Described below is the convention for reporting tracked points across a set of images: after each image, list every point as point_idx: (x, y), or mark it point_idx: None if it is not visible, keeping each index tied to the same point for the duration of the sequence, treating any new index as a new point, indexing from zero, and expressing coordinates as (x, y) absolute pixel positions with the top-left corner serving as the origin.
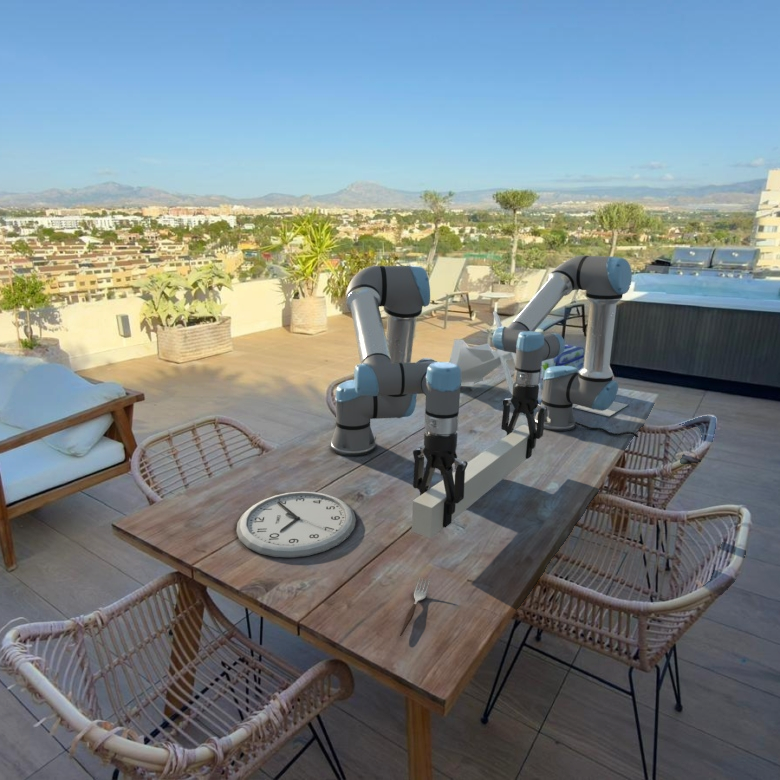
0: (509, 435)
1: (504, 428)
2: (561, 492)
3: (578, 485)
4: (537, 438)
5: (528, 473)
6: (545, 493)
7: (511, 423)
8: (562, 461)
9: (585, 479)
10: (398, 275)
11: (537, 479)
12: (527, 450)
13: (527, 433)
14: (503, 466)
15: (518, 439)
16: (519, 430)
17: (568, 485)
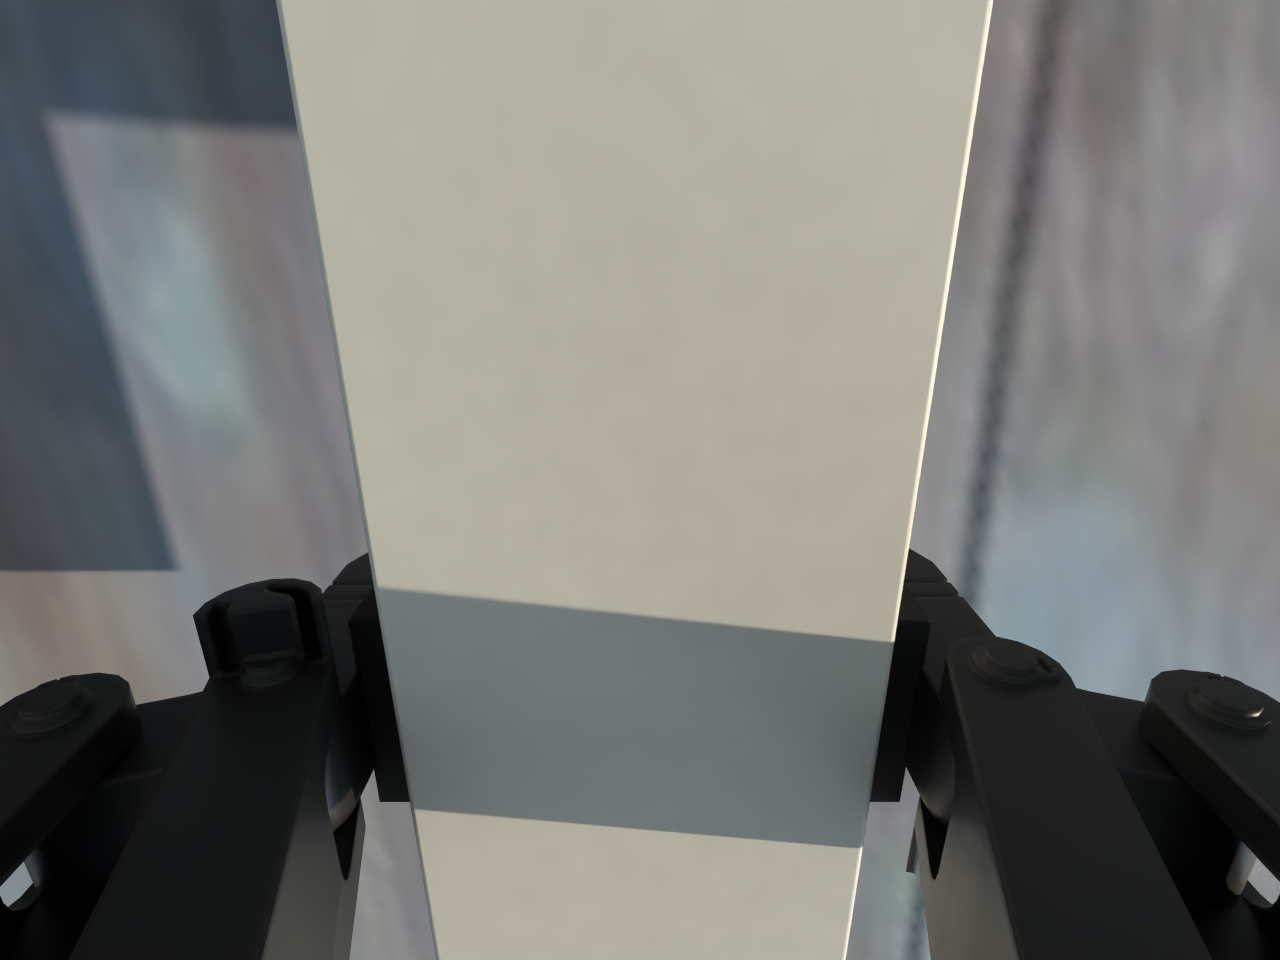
0: (866, 351)
1: (1177, 708)
2: (27, 234)
3: (26, 502)
4: (105, 681)
5: None
6: (123, 78)
7: (1096, 930)
8: (407, 841)
9: (66, 652)
10: None
11: None
12: None
13: (490, 810)
14: None
15: (443, 196)
16: (748, 858)
17: (86, 441)
